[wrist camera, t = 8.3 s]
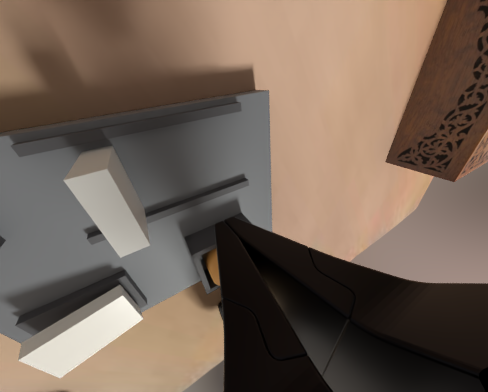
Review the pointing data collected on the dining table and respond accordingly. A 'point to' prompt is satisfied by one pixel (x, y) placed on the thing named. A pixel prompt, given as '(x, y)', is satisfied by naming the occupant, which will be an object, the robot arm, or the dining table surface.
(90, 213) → the grey angular block
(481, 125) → the tissue box cover
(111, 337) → the white slab
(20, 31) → the dining table surface
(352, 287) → the robot arm
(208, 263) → the push button
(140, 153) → the panel
